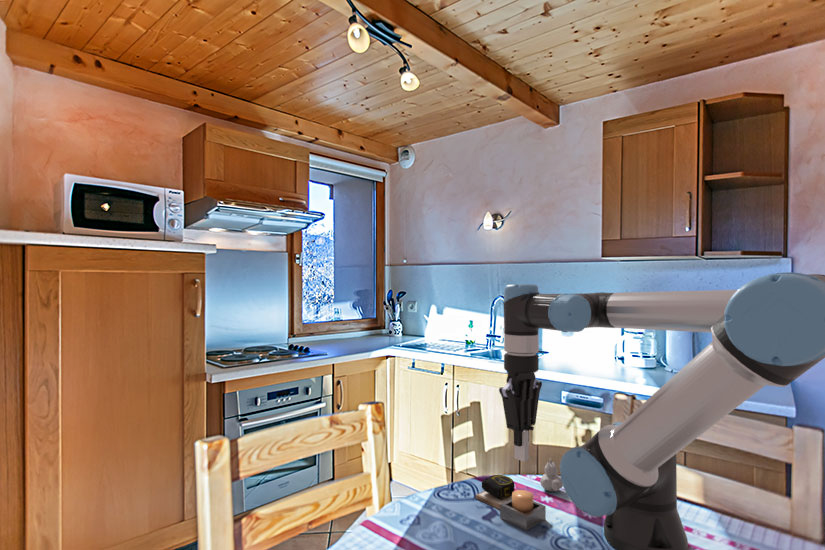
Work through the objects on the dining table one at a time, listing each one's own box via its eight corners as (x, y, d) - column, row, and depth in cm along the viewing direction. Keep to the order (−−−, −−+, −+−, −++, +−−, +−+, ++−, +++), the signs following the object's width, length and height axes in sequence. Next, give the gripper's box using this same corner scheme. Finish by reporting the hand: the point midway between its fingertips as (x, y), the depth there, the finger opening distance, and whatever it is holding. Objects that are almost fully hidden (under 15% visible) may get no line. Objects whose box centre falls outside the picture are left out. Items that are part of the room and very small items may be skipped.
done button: (537, 508, 102) (537, 495, 102) (525, 515, 99) (525, 501, 99) (520, 501, 106) (520, 488, 106) (507, 507, 103) (507, 494, 103)
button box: (545, 519, 102) (545, 505, 102) (526, 530, 97) (526, 516, 97) (519, 508, 107) (519, 495, 107) (500, 518, 103) (500, 504, 103)
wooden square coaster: (528, 499, 111) (528, 496, 111) (505, 512, 105) (505, 508, 105) (499, 487, 118) (499, 483, 118) (475, 498, 112) (475, 494, 112)
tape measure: (480, 492, 113) (480, 477, 113) (502, 486, 116) (502, 471, 117) (498, 504, 107) (497, 488, 107) (520, 497, 110) (520, 481, 110)
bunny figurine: (556, 484, 120) (556, 453, 120) (568, 496, 113) (568, 463, 113) (536, 486, 119) (536, 454, 119) (547, 497, 112) (547, 464, 112)
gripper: (524, 348, 110) (525, 447, 110) (489, 354, 102) (489, 461, 101) (552, 352, 105) (552, 456, 104) (517, 358, 96) (517, 472, 96)
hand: (521, 459), depth 103 cm, fingers closed
